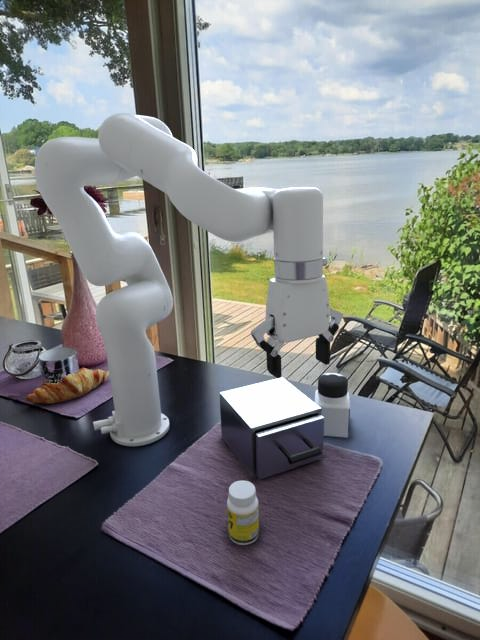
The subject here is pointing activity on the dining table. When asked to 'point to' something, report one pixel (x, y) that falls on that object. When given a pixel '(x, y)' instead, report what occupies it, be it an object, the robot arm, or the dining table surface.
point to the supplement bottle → (243, 513)
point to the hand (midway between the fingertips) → (299, 368)
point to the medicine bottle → (334, 404)
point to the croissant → (68, 386)
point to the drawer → (289, 445)
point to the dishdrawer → (259, 415)
